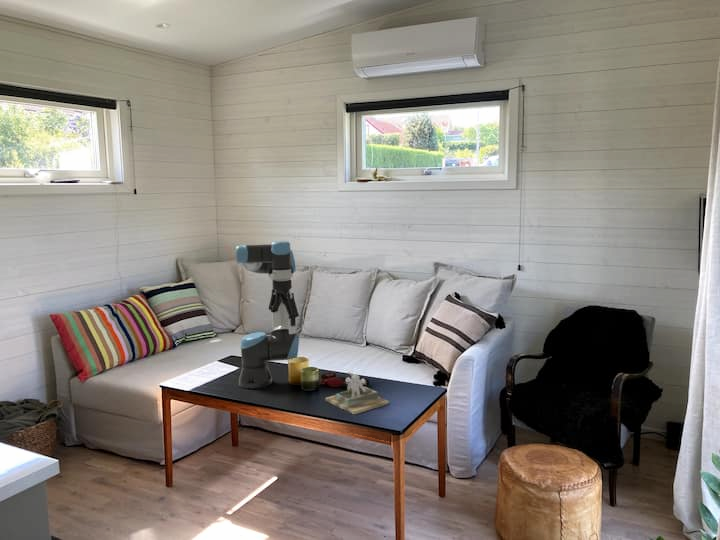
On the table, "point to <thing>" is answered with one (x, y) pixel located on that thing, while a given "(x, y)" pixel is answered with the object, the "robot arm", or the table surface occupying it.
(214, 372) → the table surface
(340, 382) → the toy motorcycle
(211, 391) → the table surface
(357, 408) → the jig board
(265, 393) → the table surface
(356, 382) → the hat wearing toy figure
